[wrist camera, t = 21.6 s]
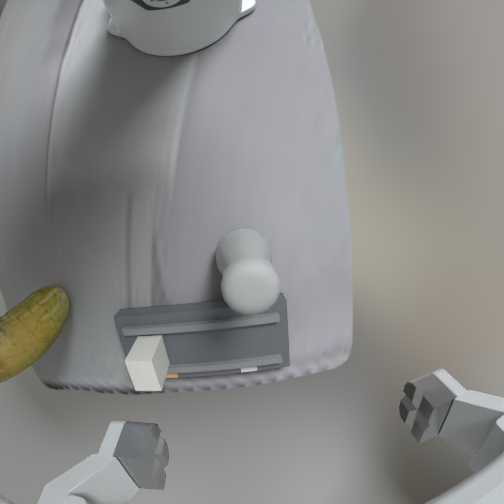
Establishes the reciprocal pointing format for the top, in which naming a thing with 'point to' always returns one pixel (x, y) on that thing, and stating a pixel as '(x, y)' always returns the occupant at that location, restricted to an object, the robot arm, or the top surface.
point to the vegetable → (31, 329)
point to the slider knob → (148, 363)
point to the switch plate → (211, 337)
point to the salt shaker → (247, 272)
